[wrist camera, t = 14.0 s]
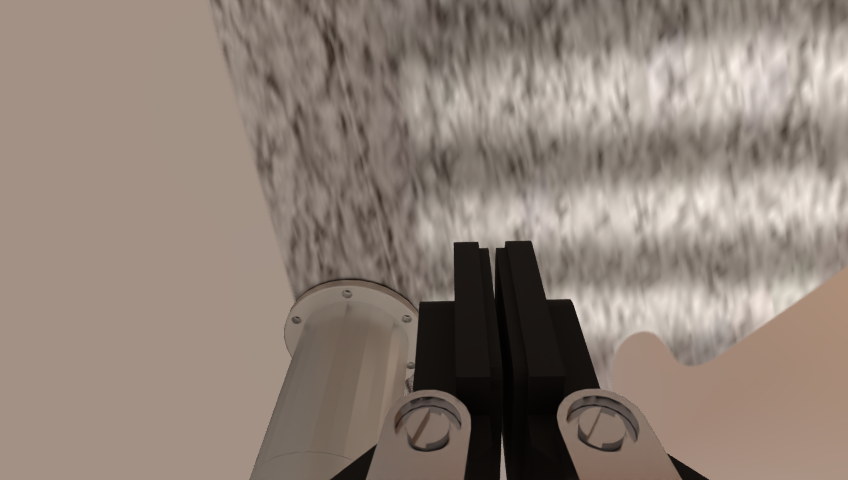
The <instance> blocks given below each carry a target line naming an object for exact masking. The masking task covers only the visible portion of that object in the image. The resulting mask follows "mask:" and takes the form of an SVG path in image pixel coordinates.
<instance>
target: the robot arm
mask: <svg viewBox="0 0 848 480" xmlns="http://www.w3.org/2000/svg"><path fill="white" fill-rule="evenodd" d="M454 291H455V301H433V302H420V304H419V313H418V312H417V310H416V309H415V308H414V307H413V306H412V305H411V304H410V303H409V302H408V301H407V300H406V299H404V298H403V297H402V296H401V295H399V294H398V293H396V292H394V291H392V290H390V289H388V288H386V287H383V286H380V285H378V284H375V283H371V282H365V281H359V280H340V281H333V282H328V283H325V284H322V285H319V286H317V287H315V288H313V289H311V290H309V291H307V292H306V293H305V294H303V295H302V296H301V297H300V298H299V299H298V300H297V301H296V303H295V304H294V305H293V307H292V308H291V310H290V313H289V315H288V317H287V320H286V324H285V328H284V339H285V342H286V347H287V349H288V351H289V353H290V355H291V357H292V360H291V363H290V366H289V369H288V372H287V374H286V377H285V381H284V383H283V386H282V389H281V391H280V394H279V397H278V400H277V403H276V406H275V408H274V411H273V414H272V417H271V420H270V423H269V425H268V428H267V431H266V434H265V437H264V440H263V443H262V445H261V448H260V451H259V454H258V457H257V460H256V462H255V465H254V468H253V471H252V474H251V477H250V480H500V463H501V436H502V438H503V448H504V456H505V467H506V477H507V480H709V479H707V478H705V477H704V476H702V475H701V474H699V473H697V472H696V471H694V470H693V469H691V468H690V467H688V466H686V465H685V464H683V463H682V462H680V461H678V460H677V459H675V458H674V457H672V456H670V455H669V454H667V453H666V451H665V450H664V448H663V446H662V445H661V443H660V441H659V439H658V438H657V436H656V434H655V432H654V431H653V429H652V427H651V426H650V424H649V422H648V420H647V419H646V417H645V416H644V414H643V413H642V412H641V411H640V409H639V408H638V407H637V406H636V405H635V404H633V403H632V402H631V401H629V400H628V399H627V398H625V397H623V396H621V395H618V394H616V393H614V392H611V391H606V390H602V389H600V386H599V383H598V380H597V377H596V374H595V371H594V368H593V364H592V361H591V358H590V355H589V352H588V349H587V346H586V342H585V339H584V336H583V333H582V330H581V327H580V324H579V321H578V317H577V314H576V311H575V308H574V305H573V303H572V301H571V300H570V299H557V300H546V297H545V293H544V289H543V285H542V281H541V277H540V273H539V269H538V265H537V261H536V257H535V253H534V249H533V245H532V242H531V241H506V242H505V248H496V254H495V299H494V291H493V283H492V274H491V266H490V257H489V249H488V248H479V243H478V242H454ZM413 374H414V382H413V392H412V393H409V394H407V395H406V396H404V389H405V380H407V379H408V378H410V377H411V376H412V375H413Z"/></svg>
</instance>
